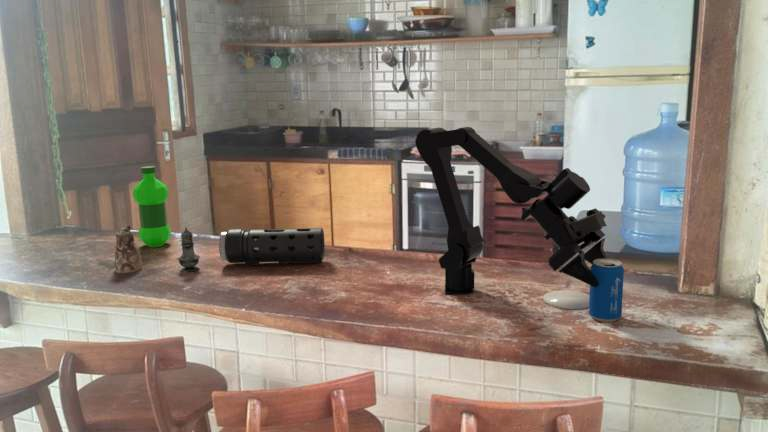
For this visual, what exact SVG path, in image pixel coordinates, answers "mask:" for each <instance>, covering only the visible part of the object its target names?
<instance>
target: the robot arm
mask: <svg viewBox="0 0 768 432" xmlns="http://www.w3.org/2000/svg"><path fill="white" fill-rule="evenodd" d="M414 145H415V147H416V150H417V152H418V153H419V156H420V158H421V160H422V161H423V162H424V163H425V164H426V165H427V166H428V167H429V168H430V171H431V173H432V178H433V181H434V184H435V187H436V191H437V195H438V198H439V202H440V205H441V207H442V212H443V213H444V218H445V220H446V224H447V233H446V235H447V236H446V245H447V246H446V247H447V251H446V252H445V253H444V254H443V255H442V256H441V257H439V259H438V262H439V263H438V264H439V266H440V268H441V269H444V270H445V271H444V279H445V280H444V281H445V282H444V294H448V295H450V294H454V295H456V294H457V295H459V294H463V295H465V294H466V295H467V294H468V295H469V294H473V293H474V292H473V290H474V289H475V270H474V269H473V265H472V264H473V263H476V262H477V261H476V260H477V258H478V257H479V256H480V255H481V254H482V251H483V250H484V242H485V240H484V238H483V236H482V234H481V233H482V232H481V228H480V227H481V226H480V225H475V226H473V224H472V223H471V222H470V221H469V219H468V217H467V213H466V210H465V206H464V203H463V200H462V196H461V193H460V190H459V187H458V186H459V185H458V183H457V180H456V177H455V174H454V171H453V167H452V163H451V161H452V152H453V147H454V146H458V147H461V148H462V149H463V150H464V151H465V152H466V153H468V155H470V156H471V157H472V158H473V159H474V160H476V161H477V163H478V164H480V165H481V166H482V167H483V168H484V169H486V170H487V171H488V172H489V173H490V174H491V175H493V176H494V177H495V179H497V181H498V182H499V185H500V187H501V189H502V190H503V192H504V193H505V194H506V195H507V197H508V198H509V199H510V200H511V201H512V202H513V203H515V204H519V205H520V204H521V205H522V204H526V203H528V202H530V201H532V200H535V201H534V202H533V203H531V204H530V205H529V206H528V205H526V206H524V207H522V208H521V221H526V220H528V219H530V218H532V219H533V221H535V222H536V224H537V225H538V226H539V227H540V228H541V230H543V232H544V233H545V236H544V238H545V240H546V241H549V240H551V241H552V242H553V243H554V244H555V246H556V247H558V249H557V250H556V252H554V253H553V254H552V255H551V256H549V258H548V266H549V267H550V268H551V269H552V271H554V272H556V271H558V272H559V273H561V274H562V273H563V274H564V275H568V276H570V277H572V278H573V279H576V280H579V281H581V282H583V283H585V284H588V285H589V286H590V285H591V286H593V287H597V286H598V285H599V282H598V281H597V279H596V278H595V276H594V275H593V273H592V272H591V268H590V267H589V266H588V265H587V263H586V262H588V263H589V264H591V265H592V264H593V261H594V260H596V259H608V257H607V255H606V252H605V250H604V245H605V244H604V243H605V240H606V239H605V236H606V234H605V233H604V232H603V231H602V230H601V229H603V228H605V227H607V224H606V221H605V219H606V215H605V214H604V213H603V212H602V211H601V210H598V209H597V208H596V207H595V208H592V209H590V210H588V211H586V216H584V217H582V218H579V219H577V218H576V217H575V216H573V215H570V216H568V215H567V214H566V213H565V211H563V210H562V209H564V208H565V209H567V210H570V209H571V208H573V207H574V206H575V205H576V204H577V203H578V202H579V201H580V200H581V199H583V198H585V196H586V195H587V194H588V193H589V192H590V191H591V188H590V187H591V186H590V185H589V184H588V182H587V180H585V178H584V177H583V176H581V175H579V174H578V173H576V172H574V171H572V170H571V169H570V168H569V167H566V168H564V169H562V170H561V171H560V172H559V174H558V175H557V176H556V177H555V178H554V179H553V180H552V181H548V180H542V179H540V177H539V176H538V175H536V174H534V173H533V172H531V171H529V170H527V169H525V168H523V167H521V166H518V165H516V164H514V163H513V162H511V161H510V160H509V159H507V158H506V156H504V155H503V154H501V153H500V152H499V151H498V150H497V149H496V148H495V147H494V146H493V145H491V144H490V143H489V142H488V141H486V140H485V139H484V138H483V137H481V136H480V135H479V133H477V132H476V130H475V129H474V128H473V127H472V126H462V127H458V128H456V129H451V130H447V129H444V128H443V127H433V128H425V129H422V130H420V131H419V132H418V134H417V135H416V137H415V140H414ZM546 194H547V195H546ZM544 195H546V196H545V197H544V198H542V199H541V198H539V197H541V196H544ZM585 261H586V262H585Z"/></svg>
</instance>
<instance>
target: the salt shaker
mask: <svg viewBox="0 0 768 432" xmlns="http://www.w3.org/2000/svg"><path fill="white" fill-rule="evenodd" d="M180 237H181V243H180V246H181V249H182V252H181V256H179V257H178V258H177V261H178V263H179V265H180V266H181V267H182V268H181V269H179V272H180V273H181V274H191V273H197V272H199V271H200V270H201V269H200V267H199V266H197V265H198V264H199V261H200V255H198V254H196V253H195V250H194V245H195V243H194V242H193V233H192V232H191V231H190V230H188V228H187V227H185V228H184V231H182V232H181V235H180Z"/></svg>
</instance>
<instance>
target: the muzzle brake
mask: <svg viewBox="0 0 768 432" xmlns="http://www.w3.org/2000/svg"><path fill="white" fill-rule="evenodd" d="M325 246H326V245H325V232H324V228H322V227H311V228H276V229H275V228H272V229H265V228H263V229H262V228H260V229H250V230H248V231H247V229H244V228H229V229H228V230H227V231H222V232H221V233H220V236H219V241H218V251H219V256H220V257H219V258H220V259H221V261H223V262H228V263H230V264H243V263H245V266H258V265H259V264H260V263H278V264H280V265H282V264H291V265H292V264H321V263H322V262H323V261H324V258H325Z"/></svg>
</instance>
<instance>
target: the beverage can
mask: <svg viewBox="0 0 768 432" xmlns="http://www.w3.org/2000/svg"><path fill="white" fill-rule="evenodd" d="M622 264H623V263H622V261H620V260H618V259H617V260H616V259H613V258H612V259H611V258H607V259H596V260H594V261H593V264H591V266H590V270H591V272H592V273H593V275H594V276H595V278H596V279H597V281H598V282H599V285H598V286H597V287H593V286H591V285H589V295H590V297H589V307H588V314H589V316H591V318H592V319H594V320H595V321H597V322H602V323H613V322H616V321H617V320H618V319H620V318H622V316H623V315H622V314H623V296H624V295H623V293H624V274H625V269H624V266H623V265H622Z"/></svg>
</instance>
